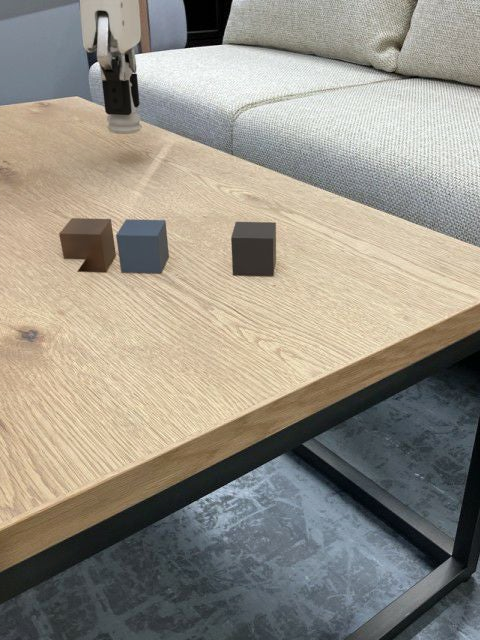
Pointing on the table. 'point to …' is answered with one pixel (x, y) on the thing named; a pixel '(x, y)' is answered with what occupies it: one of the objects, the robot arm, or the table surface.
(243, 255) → the block
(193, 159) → the table surface
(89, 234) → the block
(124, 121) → the rook chess piece
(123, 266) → the block
